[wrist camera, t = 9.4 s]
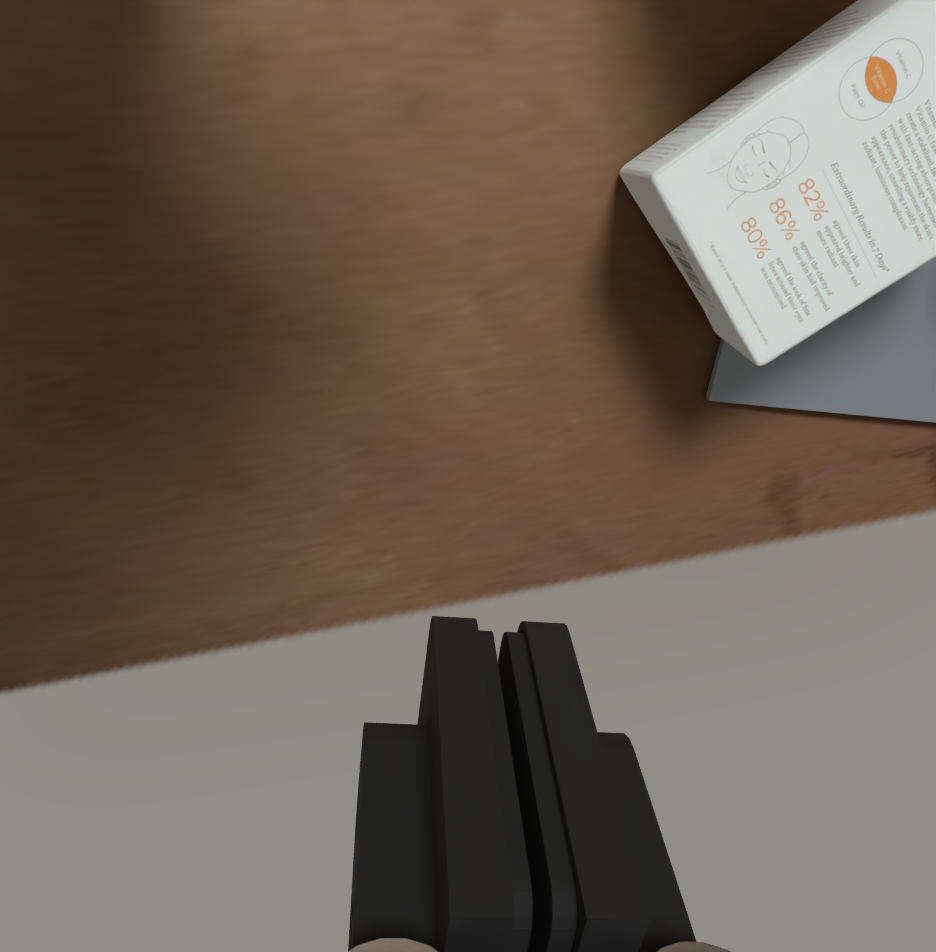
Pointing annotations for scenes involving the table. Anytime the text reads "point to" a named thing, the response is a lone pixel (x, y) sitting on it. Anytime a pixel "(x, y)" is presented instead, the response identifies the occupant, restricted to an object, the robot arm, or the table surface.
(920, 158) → the small box
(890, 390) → the felt mat
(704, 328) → the table surface
